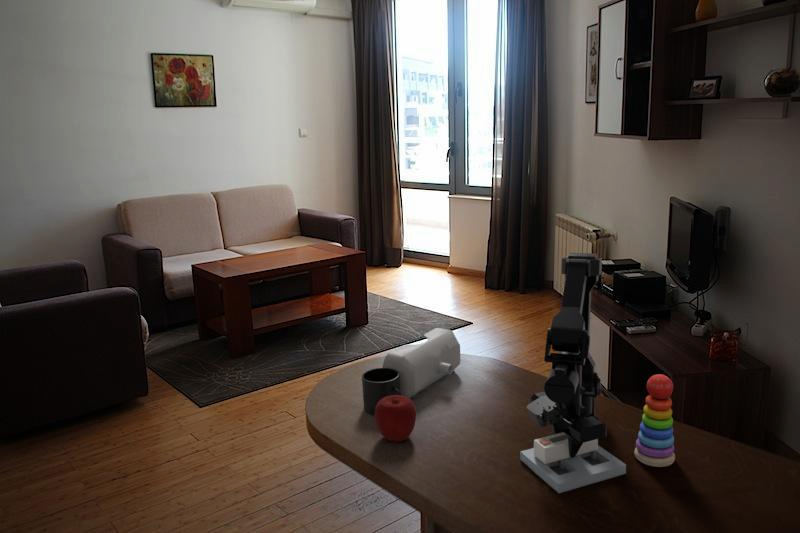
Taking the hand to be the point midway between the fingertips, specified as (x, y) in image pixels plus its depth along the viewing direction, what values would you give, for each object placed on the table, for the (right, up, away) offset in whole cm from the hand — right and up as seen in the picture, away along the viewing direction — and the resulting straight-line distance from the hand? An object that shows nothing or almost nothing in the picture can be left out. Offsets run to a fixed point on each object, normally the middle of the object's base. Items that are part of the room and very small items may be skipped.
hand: (566, 452), depth 141 cm
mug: (-38, +3, +29) cm, 48 cm away
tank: (-28, +6, +43) cm, 51 cm away
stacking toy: (+18, -2, 0) cm, 19 cm away
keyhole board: (+1, -3, -1) cm, 3 cm away
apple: (-36, -1, +14) cm, 38 cm away
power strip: (0, -2, 0) cm, 2 cm away
